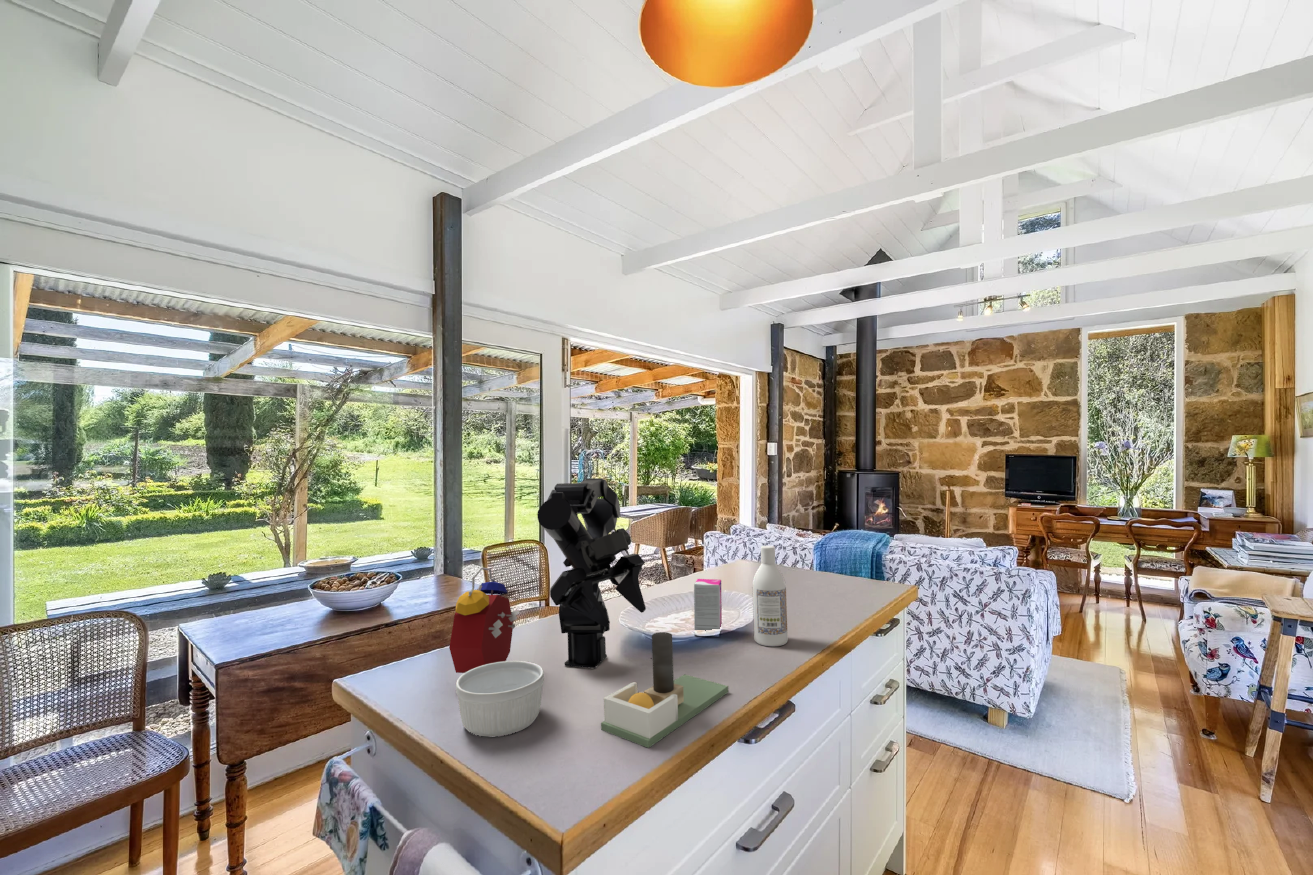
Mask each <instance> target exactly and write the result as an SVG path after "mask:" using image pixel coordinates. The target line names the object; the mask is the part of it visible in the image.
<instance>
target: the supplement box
mask: <svg viewBox="0 0 1313 875" xmlns="http://www.w3.org/2000/svg"><path fill="white" fill-rule="evenodd" d="M693 600H694V601H693V602H694V603H693V604H694V606H693V608H694V613H693V616H694V618H693V619H694V620H693V621H694V623H693V624H694V626H693V627H694V628H693V629H694V630H705V631H706V630H712V629H720V627H721V624H722V625H723V622H722V620H723V619H722V618H723V617H722V613H723V611H722V606H723V605H722V604H723V603H722V579H715V578H714V579H713V578H712V579H710V578H697V579H696V580H695V583H694V584H693Z"/></svg>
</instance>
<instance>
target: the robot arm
mask: <svg viewBox="0 0 1313 875" xmlns="http://www.w3.org/2000/svg"><path fill="white" fill-rule="evenodd" d="M618 496H619V495H618V494H617V492H616V491H614V490H613V489H612V488H610V487H609V486H608V482H607V480H606V479H604V478H603V477H601V478H600V477H598V478H585V479H583V480H582V481H581V482H573V483H572V482H571V483H570V482H568V483H566V482H565V483H564V482H563V483H556V485H555V486H554V488H553V489H552V490H551V492H550V494H549V496H548V498H547V499H546V501H544V502H543V503H542V505H540V507H539V508H538V510H537V514H536V515H537V516H536V517H537V520H538V523H539V524H540V526H541V527H542V528H543V529H544V530H545V532H546V533H547V534H548V535H549V536H550V538H552V539H553V540H554V542H555V543H556V545H557V546H558V548H559V550H560V551H561V552H562V554H563V555H564V557H565V560H564V561H563V562H562V564H563V565H564V566H565V568H568V567H571V569H568V570H564V571H562V572H561V574H560V575H559V576H558V577H557V579H556V580H555V582H554V583H553V584H552V586H551V587H550V588H549V596H550V599H551V600H552V602H553V603H554V605H555V606H559V607H558V618H559V625H560V632H561V634H567V658H568V659H567V660H566V661H564V666H565V667H573V668H574V667H575V668H584V669H585V668H586V669H596V668H597V667H598V666H599V665H600V664H601V663H602V662H603V661H605V659H607V657H608V654H607V652H606V651H607V650H606V649H607V648H606V646H607V645H606V636H605V635H604V634H605V632H609V631H610V628H611V626H610V625H611V621H610V616H609V612H608V608H607V607H606V604H605V601H604V600H603V595H602V592H601V588H600V586H599V585H600V583H601V582H605V581H608V580H609V581H610V582H611V584H613V585H614V586H616V587H615V590H616V591H617V592H618V593H619V594H620V595H621V596H622V598H624V599H625V600H626V602H628V603H629V604H630V605H632V606H633V607H634V608H635V609H636V610H637V611H638V612H640V613H644V612H645V611H646V609H647V608H646V607H647V606H646V604H645V601H644V600H645V599H644V596H643V594H642V590H641V585H640V581H639V575H640V572H641V571H642V570H643V566H644V565H645V561H644V560H643V559H642V557H641V555H640V554H639V553H631V554H627V555H623V556H620V557H619V559H618V560H617V562H616V563H614V562H615V561H616V559H617V557H616V555H618V554H620V553H622V552H624V551H625V552H627V551H628V550H630V547H629V546H630V545H631V544H632V536H631V535H630V534H629V532H627V530H626V529H625V528H624V527H622V528H617V529H616V530H615V531H613V530H614V529H615V528H616V526H617V521H618V519H620V516H621V506H620V502H619V497H618ZM601 497H602V498H601ZM578 514H580V515H581V518H582V519H583V522H584V524H583V523H582V521H581V520H580V519H579V516H578ZM612 563H614V565H613V566H612V565H611V564H612Z"/></svg>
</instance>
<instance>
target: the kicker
mask: <svg viewBox="0 0 1313 875" xmlns="http://www.w3.org/2000/svg"><path fill="white" fill-rule="evenodd" d="M673 645H674V644H673V634H672V633H671V632H668V631H667V632H666V631H659V632H655V633H653V634H652V635H651V646H652V648H651V649H652V651H651V653H652V654H651V655H652V683H653V684H652V686H650V687H649V688H648V689H645V690H644V691H643V693H646V694H647V695H649V696H650V697H651V699H652V701H653V703H654V706H655V705H656V704H658V703H660V702H661V701H663V700H664V699H666V698H668V697H669V696H671V695H672V694H676V695H677V700H678V705H679V704H681V703H682V702H684V693H683V686H681V685H678V684H674V680H675V679H674V678H675V677H674V652H673V651H674V650H673V647H674V646H673Z"/></svg>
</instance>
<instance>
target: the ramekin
mask: <svg viewBox="0 0 1313 875" xmlns="http://www.w3.org/2000/svg"><path fill="white" fill-rule="evenodd" d="M544 682H545V674H544V670H543V668H542V666H541V665H539V664H537V663H534V662H530V661H525V660H506V661H503V662H496V663H490V664H486V665H482V666H479V667H476V668H474V669H471V670H469V671H467V672H466V673H462V674H461V675H460V676H459V677H458V678H457V680H456V683H455V694H456V696H457V700H458V709H459V713H460V714H459V715H460V719H461V723H462V726H464V728H465V730H467V731H468V732H469V733H470V732H471V733H470V734H472V733H473V734H472V735H474V734H475V735H474V736H477V735H479V736H478V737H481V736H498V737H504V735H505V736H508V734H509V735H513V734H515V732H516V733H518V732H521V731H522V730H524V729H526V728H528V727H530V725H532V724H533V723H534V722H535V720H536V719H537V717H538V716H539V714H540V710H541V705H542V692H543V683H544ZM512 733H513V734H512Z"/></svg>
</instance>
